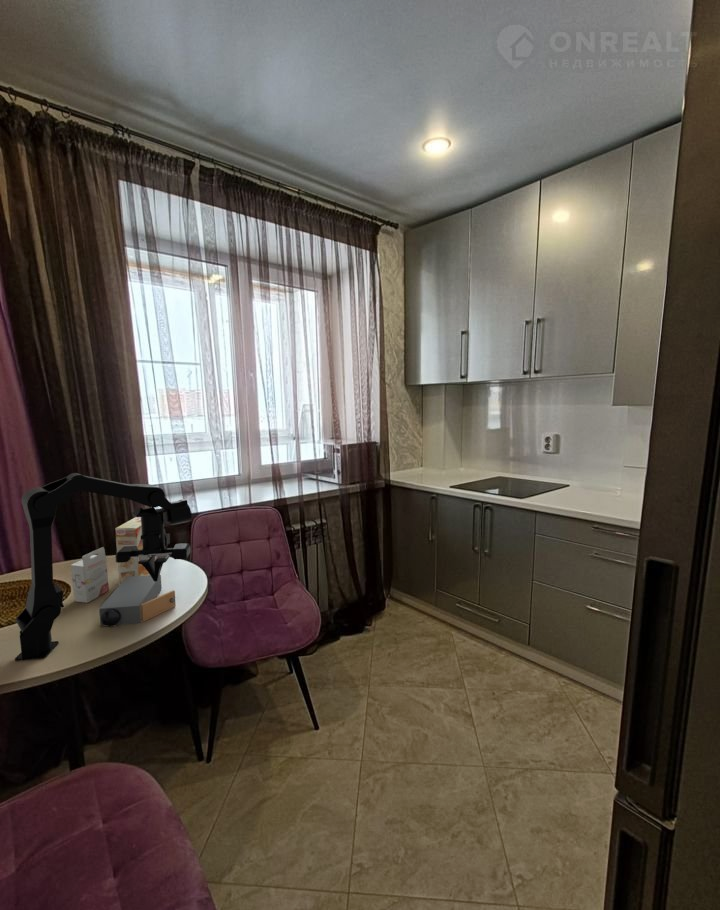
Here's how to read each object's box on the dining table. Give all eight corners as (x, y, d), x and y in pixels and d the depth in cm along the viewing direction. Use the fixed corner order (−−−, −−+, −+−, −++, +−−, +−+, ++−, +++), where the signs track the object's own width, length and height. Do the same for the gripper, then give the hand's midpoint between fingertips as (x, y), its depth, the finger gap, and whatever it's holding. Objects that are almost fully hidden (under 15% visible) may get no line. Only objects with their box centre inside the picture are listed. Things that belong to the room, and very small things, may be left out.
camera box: (138, 625, 113) (137, 607, 112) (98, 628, 111) (97, 610, 110) (161, 589, 133) (160, 574, 133) (128, 591, 132) (126, 576, 131)
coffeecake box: (140, 585, 136) (136, 528, 133) (118, 585, 136) (113, 528, 133) (161, 567, 151) (157, 515, 148) (141, 567, 151) (137, 514, 148)
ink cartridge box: (96, 588, 134) (92, 545, 132) (109, 590, 133) (106, 546, 131) (73, 601, 125) (68, 555, 123) (87, 603, 124) (82, 556, 122)
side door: (145, 622, 114) (144, 605, 113) (141, 620, 115) (140, 604, 114) (177, 606, 122) (176, 591, 122) (173, 605, 123) (172, 590, 122)
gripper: (193, 519, 128) (195, 567, 130) (127, 521, 124) (131, 571, 127) (185, 530, 117) (187, 583, 119) (112, 533, 114) (116, 587, 116)
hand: (156, 580), depth 120 cm, fingers closed
